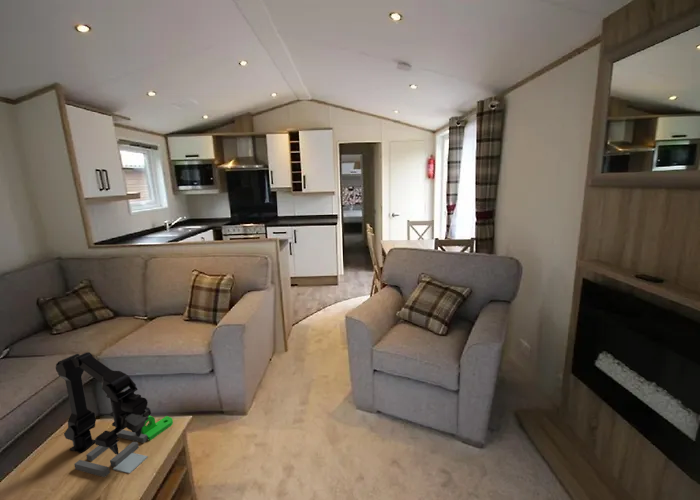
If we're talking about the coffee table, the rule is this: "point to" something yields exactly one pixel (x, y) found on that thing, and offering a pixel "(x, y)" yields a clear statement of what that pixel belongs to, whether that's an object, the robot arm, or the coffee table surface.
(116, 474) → the coffee table surface
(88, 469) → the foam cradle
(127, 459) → the felt pad
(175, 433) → the coffee table surface
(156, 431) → the mechanical part
